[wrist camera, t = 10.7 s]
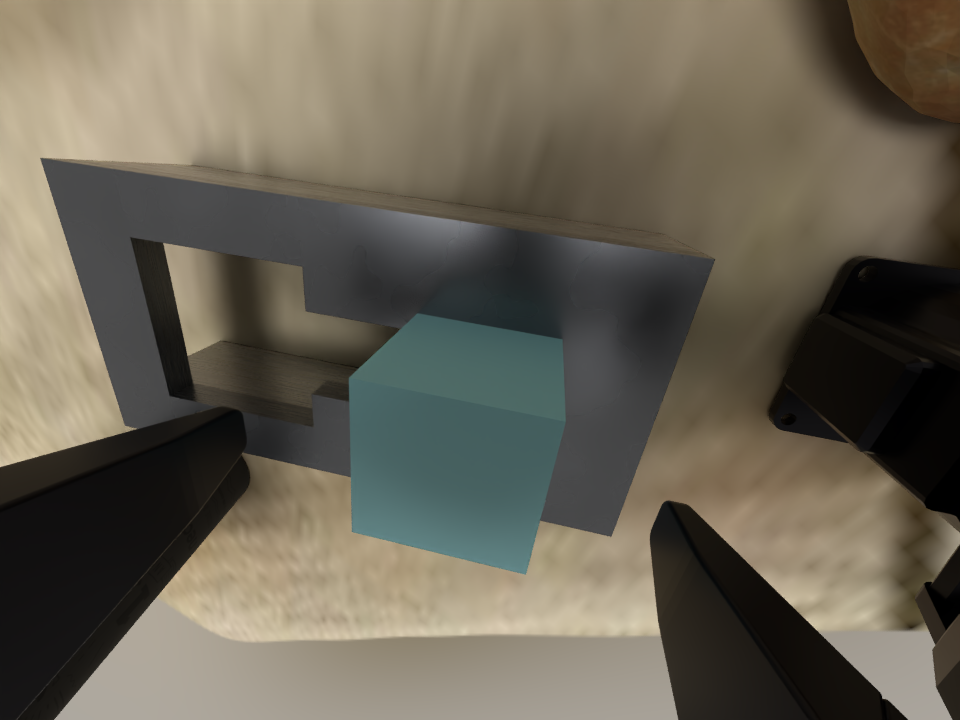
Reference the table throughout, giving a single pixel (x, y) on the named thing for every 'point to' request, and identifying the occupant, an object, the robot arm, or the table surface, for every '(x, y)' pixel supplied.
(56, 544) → the robot arm
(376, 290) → the keyhole plate
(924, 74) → the bread roll
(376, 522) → the peg
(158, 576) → the drinking cup
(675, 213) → the table surface
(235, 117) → the table surface
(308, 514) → the table surface
